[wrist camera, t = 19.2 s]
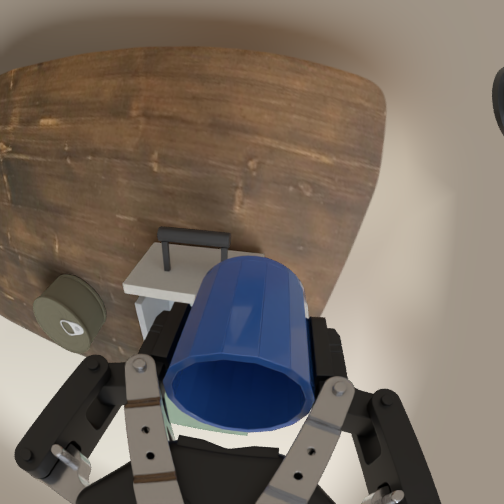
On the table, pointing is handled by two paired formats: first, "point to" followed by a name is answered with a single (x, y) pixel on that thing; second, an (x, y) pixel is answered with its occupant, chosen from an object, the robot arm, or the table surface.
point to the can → (70, 313)
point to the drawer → (175, 270)
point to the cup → (244, 349)
